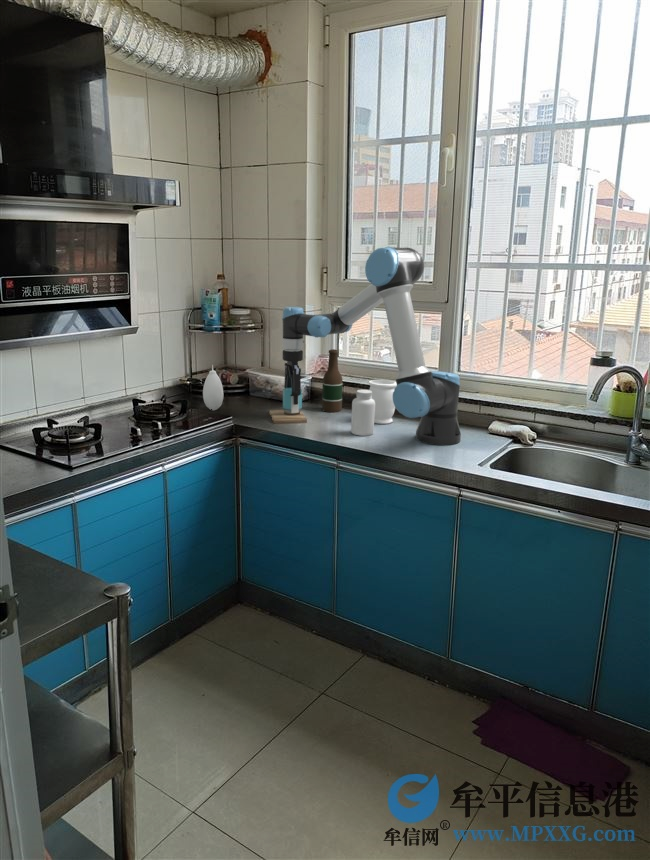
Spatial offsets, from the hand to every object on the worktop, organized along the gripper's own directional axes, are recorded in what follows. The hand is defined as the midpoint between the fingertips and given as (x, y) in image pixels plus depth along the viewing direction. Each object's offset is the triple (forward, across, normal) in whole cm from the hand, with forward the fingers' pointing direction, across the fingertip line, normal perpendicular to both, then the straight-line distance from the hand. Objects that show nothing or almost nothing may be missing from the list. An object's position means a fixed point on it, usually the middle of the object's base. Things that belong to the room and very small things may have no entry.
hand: (292, 410), depth 252 cm
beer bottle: (+3, +6, -18) cm, 19 cm away
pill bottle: (+3, -28, -17) cm, 34 cm away
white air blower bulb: (+3, +17, +27) cm, 32 cm away
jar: (+3, -15, -30) cm, 34 cm away
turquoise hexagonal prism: (-1, 0, 0) cm, 1 cm away
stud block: (+2, -2, +2) cm, 4 cm away
